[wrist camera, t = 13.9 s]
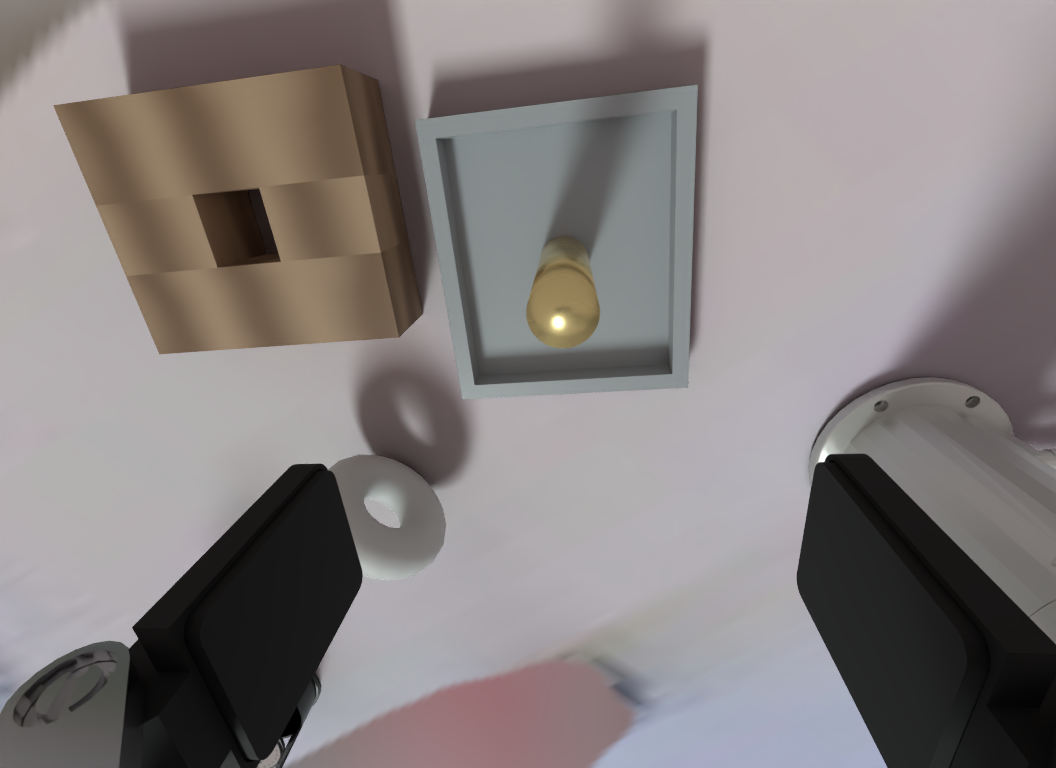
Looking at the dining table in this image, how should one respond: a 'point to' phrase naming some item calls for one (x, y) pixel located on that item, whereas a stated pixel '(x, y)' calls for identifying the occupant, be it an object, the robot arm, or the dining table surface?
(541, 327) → the pin
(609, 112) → the tray
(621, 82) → the dining table surface
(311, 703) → the french press
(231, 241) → the pin block
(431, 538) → the donut
